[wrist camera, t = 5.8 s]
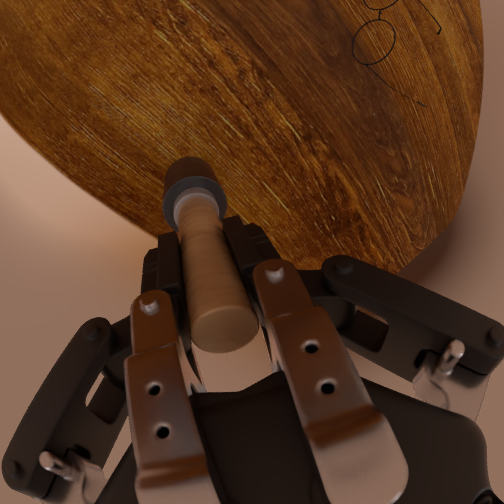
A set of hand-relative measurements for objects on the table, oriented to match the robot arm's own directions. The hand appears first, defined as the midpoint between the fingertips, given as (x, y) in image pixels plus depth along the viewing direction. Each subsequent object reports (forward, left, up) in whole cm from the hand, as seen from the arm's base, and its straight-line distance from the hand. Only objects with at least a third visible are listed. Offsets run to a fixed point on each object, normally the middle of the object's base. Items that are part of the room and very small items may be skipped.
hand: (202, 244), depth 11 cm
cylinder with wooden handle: (0, 0, -9) cm, 9 cm away
